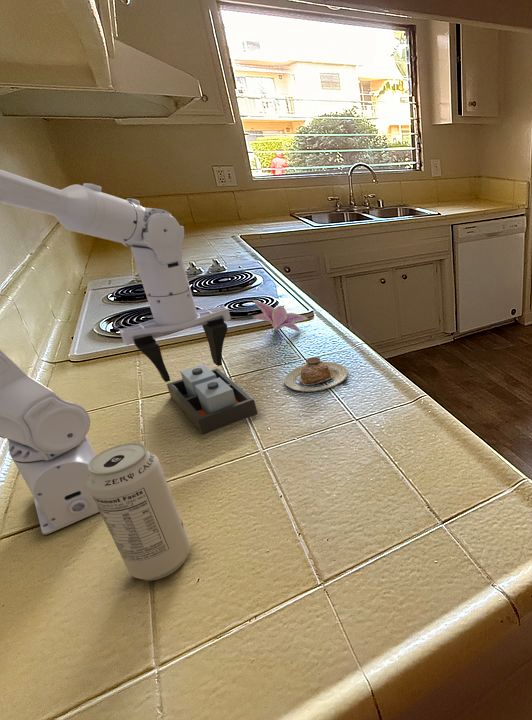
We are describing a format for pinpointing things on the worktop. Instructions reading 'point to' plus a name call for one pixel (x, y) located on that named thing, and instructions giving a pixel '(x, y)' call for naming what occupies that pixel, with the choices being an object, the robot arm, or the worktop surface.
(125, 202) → the robot arm
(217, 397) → the grey knobbed block
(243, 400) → the tray
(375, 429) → the worktop surface
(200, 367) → the grey block with knob
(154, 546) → the energy drink can
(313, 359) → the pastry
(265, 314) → the lily
